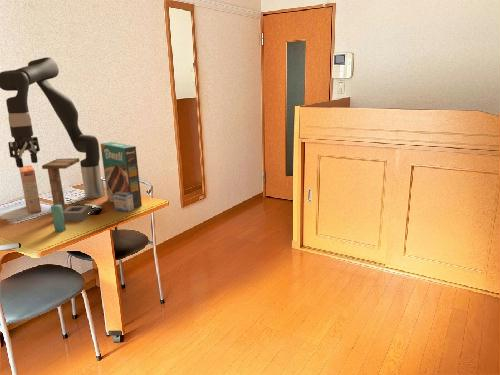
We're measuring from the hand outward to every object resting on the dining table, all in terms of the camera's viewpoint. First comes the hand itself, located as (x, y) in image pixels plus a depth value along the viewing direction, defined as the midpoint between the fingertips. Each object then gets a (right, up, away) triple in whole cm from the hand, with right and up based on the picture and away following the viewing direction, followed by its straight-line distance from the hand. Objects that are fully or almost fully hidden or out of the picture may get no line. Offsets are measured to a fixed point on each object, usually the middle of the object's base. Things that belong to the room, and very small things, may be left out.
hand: (27, 165), depth 158 cm
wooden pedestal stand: (+6, -23, +24) cm, 34 cm away
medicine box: (+29, -20, +33) cm, 48 cm away
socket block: (+9, -23, +24) cm, 34 cm away
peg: (+9, -27, +9) cm, 30 cm away
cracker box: (-18, -20, +37) cm, 46 cm away
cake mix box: (+25, -17, +43) cm, 53 cm away
